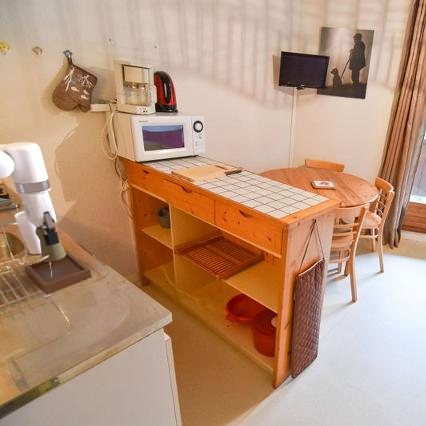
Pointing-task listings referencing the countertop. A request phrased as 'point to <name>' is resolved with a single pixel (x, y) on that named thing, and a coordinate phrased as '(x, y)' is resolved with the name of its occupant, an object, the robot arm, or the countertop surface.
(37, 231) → the cork
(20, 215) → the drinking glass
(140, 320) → the countertop surface
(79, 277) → the tray
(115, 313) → the countertop surface
